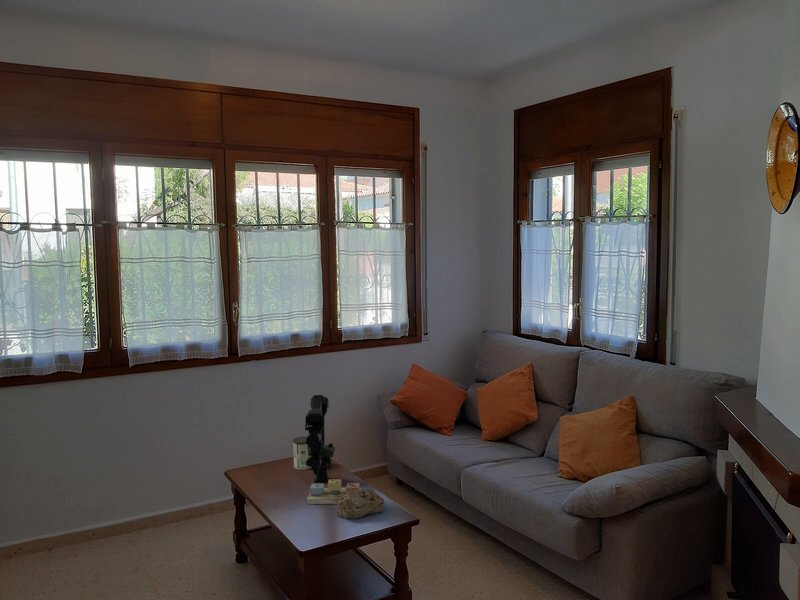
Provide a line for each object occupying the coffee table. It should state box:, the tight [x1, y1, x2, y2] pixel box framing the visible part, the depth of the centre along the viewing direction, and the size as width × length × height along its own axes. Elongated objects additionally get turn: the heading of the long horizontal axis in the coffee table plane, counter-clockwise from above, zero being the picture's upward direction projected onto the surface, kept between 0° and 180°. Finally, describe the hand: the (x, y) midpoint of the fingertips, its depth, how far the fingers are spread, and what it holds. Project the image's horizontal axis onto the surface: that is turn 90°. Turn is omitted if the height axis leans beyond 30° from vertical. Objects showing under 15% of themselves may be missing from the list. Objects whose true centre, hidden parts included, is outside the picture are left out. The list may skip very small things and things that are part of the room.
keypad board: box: [306, 487, 363, 505], centre depth 290 cm, size 12×23×2 cm, turn 89°
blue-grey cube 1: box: [309, 483, 325, 495], centre depth 290 cm, size 6×6×6 cm
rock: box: [336, 488, 386, 520], centre depth 275 cm, size 21×14×10 cm
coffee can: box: [292, 436, 312, 470], centre depth 333 cm, size 10×10×14 cm
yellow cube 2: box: [327, 478, 343, 495], centre depth 290 cm, size 6×6×6 cm
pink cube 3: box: [345, 482, 360, 493], centre depth 290 cm, size 6×6×6 cm
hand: (316, 474), depth 289 cm, fingers closed
